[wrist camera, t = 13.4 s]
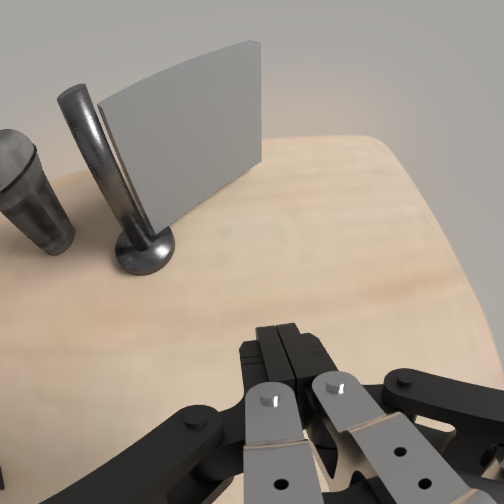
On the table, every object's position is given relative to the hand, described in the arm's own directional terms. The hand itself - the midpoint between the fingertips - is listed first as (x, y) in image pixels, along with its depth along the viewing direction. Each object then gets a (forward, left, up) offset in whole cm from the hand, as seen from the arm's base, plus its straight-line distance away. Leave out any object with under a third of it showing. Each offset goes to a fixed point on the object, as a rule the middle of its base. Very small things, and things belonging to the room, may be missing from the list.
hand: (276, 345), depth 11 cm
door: (-7, +18, -11) cm, 22 cm away
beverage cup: (-24, +13, -12) cm, 30 cm away
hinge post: (-12, +12, -12) cm, 21 cm away
